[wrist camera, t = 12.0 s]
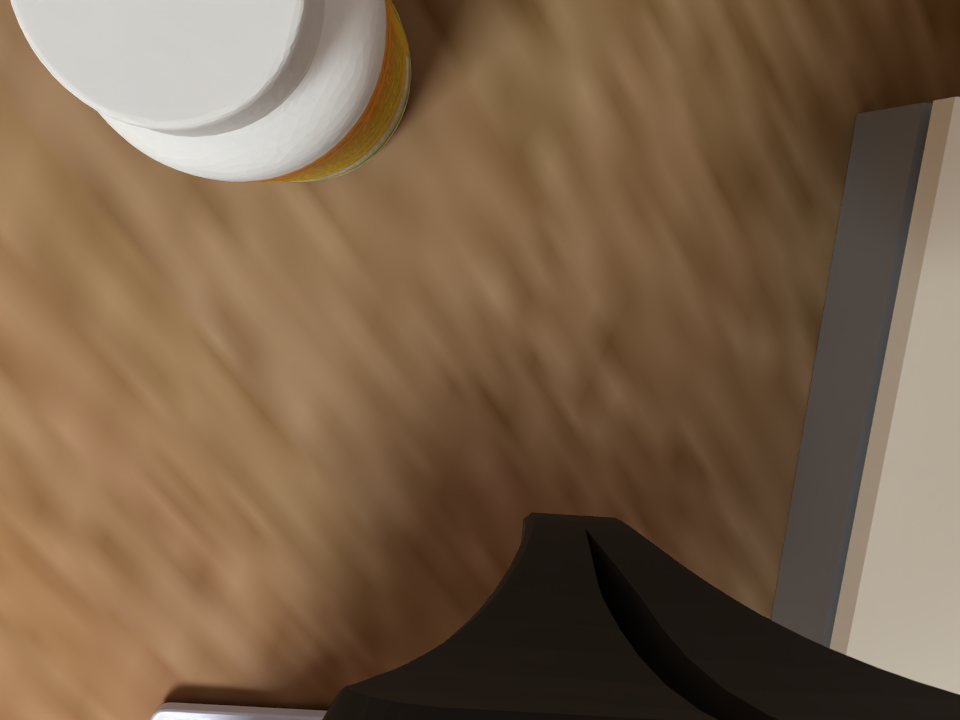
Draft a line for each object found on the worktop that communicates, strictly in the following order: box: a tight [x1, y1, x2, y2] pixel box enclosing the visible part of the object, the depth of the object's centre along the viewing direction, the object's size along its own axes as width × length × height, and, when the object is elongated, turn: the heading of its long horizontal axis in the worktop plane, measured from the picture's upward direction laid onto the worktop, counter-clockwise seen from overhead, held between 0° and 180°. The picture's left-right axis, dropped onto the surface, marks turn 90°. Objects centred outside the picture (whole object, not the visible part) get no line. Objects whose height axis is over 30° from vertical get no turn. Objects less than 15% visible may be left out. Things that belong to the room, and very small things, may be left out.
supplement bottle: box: [11, 0, 411, 182], centre depth 15 cm, size 5×5×10 cm
